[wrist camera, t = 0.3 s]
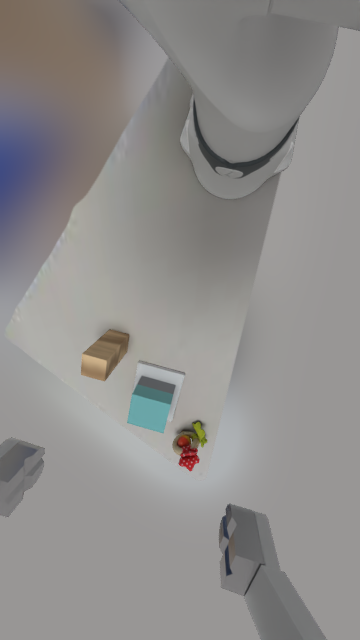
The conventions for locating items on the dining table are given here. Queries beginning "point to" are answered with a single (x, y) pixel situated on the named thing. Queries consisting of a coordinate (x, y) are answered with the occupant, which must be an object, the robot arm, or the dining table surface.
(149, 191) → the dining table surface
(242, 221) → the dining table surface
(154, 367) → the brick tower
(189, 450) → the bird rattle
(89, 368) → the oak brick
